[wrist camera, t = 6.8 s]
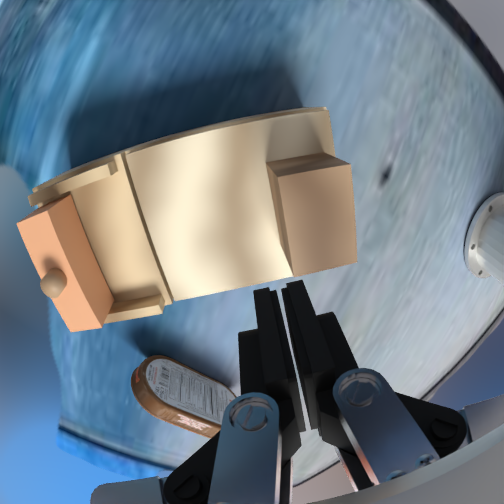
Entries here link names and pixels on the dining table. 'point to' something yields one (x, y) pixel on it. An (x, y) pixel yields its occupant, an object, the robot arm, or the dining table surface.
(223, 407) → the tin
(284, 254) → the lid
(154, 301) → the toolbox
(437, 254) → the dining table surface
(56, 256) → the peach boxy piece
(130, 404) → the dining table surface
